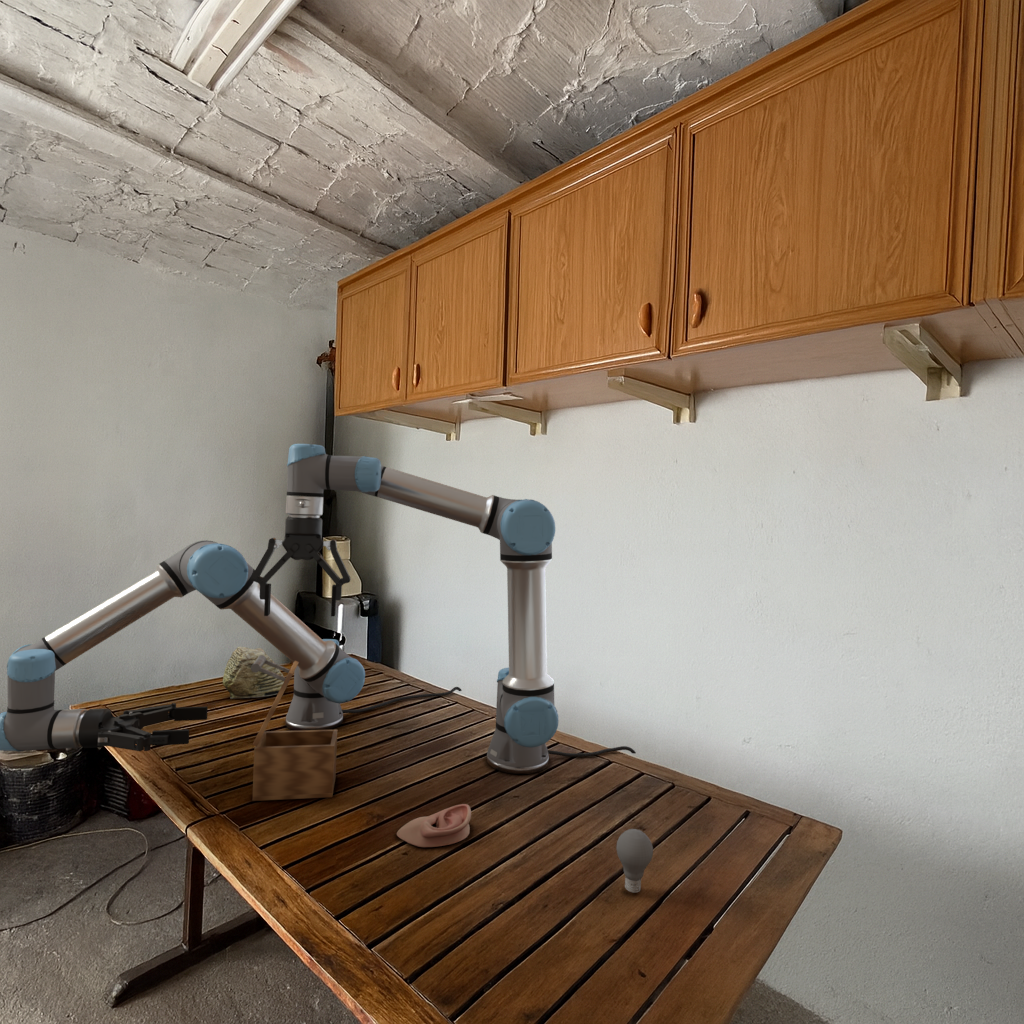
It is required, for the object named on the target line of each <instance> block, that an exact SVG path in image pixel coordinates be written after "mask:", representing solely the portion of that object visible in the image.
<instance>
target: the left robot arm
mask: <svg viewBox="0 0 1024 1024" xmlns="http://www.w3.org/2000/svg"><path fill="white" fill-rule="evenodd" d="M255 570H256V569H254V568H253V567H252V566H251V565H250V564H249V563H248V562H247V560H246V559H245V557H244V556H243V554H242V553H241V552H240V551H239V550H237V549H236V548H235V547H233V546H231V545H228V544H225V543H218V542H217V541H213V540H208V539H207V540H199V541H194V542H192V543H190V544H188V545H186V546H185V547H183V548H181V549H180V550H178V551H177V552H175V553H174V554H173V555H171V556H169V557H168V558H166V559H165V560H163V561H162V562H159V563H158V564H157V565H156V568H155V570H154V571H153V572H150V573H149V574H147V575H146V576H145V577H143V578H141V579H140V580H139V579H138V580H137V581H136V582H134V583H133V584H131V585H129V586H128V587H126V588H124V589H122V590H121V591H119V592H117V593H115V594H114V595H112V596H111V597H109V598H108V599H106V600H104V601H102V602H101V603H99V604H97V605H96V606H94V607H92V608H91V609H89V610H87V611H85V612H83V613H82V614H80V615H79V616H77V617H75V618H74V619H72V620H70V621H69V622H67V623H65V624H63V625H62V626H60V627H58V628H57V629H55V630H53V631H52V632H50V633H48V634H47V635H45V636H44V637H42V638H40V639H38V640H36V641H35V642H33V643H30V644H25V645H22V646H20V647H18V648H17V649H16V650H14V651H13V652H12V653H11V655H9V657H8V661H7V664H6V675H7V707H6V711H3V712H1V713H0V752H2V751H6V752H18V753H19V752H25V751H26V752H27V751H28V752H29V751H44V750H63V749H65V751H67V752H69V751H71V750H72V749H79V748H81V747H82V748H83V749H92V748H94V749H95V748H97V749H98V748H103V747H111V748H117V749H123V750H130V751H136V752H142V751H143V752H149V751H151V749H152V746H153V747H154V746H173V745H174V746H175V745H176V746H177V745H189V744H190V729H189V728H186V729H183V728H182V729H159V730H152V731H151V732H150V731H146V730H143V728H144V727H148V726H151V725H155V724H159V723H160V724H161V723H164V722H167V721H172V720H174V722H183V721H184V722H185V721H186V722H187V721H207V720H208V710H209V709H208V706H182V707H181V706H180V707H179V706H177V702H173V703H170V704H164V705H157V706H151V707H145V708H138V709H126V710H124V711H123V714H120V715H118V716H114V715H113V713H112V710H111V709H109V708H105V707H104V708H90V709H86V708H71V709H55V687H56V686H55V684H56V672H57V671H59V669H61V668H62V667H65V666H66V665H67V664H69V663H71V662H72V661H73V660H76V659H77V658H79V657H80V656H82V655H83V654H85V653H86V652H88V651H90V650H91V649H92V648H94V647H96V646H98V645H99V644H100V643H101V644H102V642H104V641H105V640H107V639H109V638H112V636H114V635H116V634H117V633H119V632H120V631H122V630H123V629H126V628H127V627H129V626H131V625H132V624H133V623H135V622H136V621H138V620H140V619H141V618H143V617H145V616H146V615H148V614H150V613H151V612H153V611H154V610H156V609H158V608H159V607H161V606H163V605H164V604H166V603H168V602H169V601H170V600H172V599H173V598H180V599H181V598H183V597H185V596H187V595H188V594H190V593H192V592H194V591H197V592H198V593H200V594H201V595H202V596H204V597H205V598H206V599H207V600H208V601H209V602H211V604H213V605H214V606H215V607H217V608H218V609H219V610H222V611H223V610H230V611H232V612H233V613H234V614H235V615H237V616H238V617H239V618H240V619H241V620H242V621H244V622H245V623H246V624H247V625H248V626H250V627H251V628H252V629H254V630H255V631H256V633H258V634H259V635H261V636H262V638H264V639H265V640H266V641H267V642H269V643H270V644H271V645H272V646H273V647H274V648H275V649H277V650H278V651H279V652H280V653H281V654H283V656H285V657H286V658H287V659H289V660H290V661H291V662H292V663H294V661H297V662H299V663H298V665H297V667H296V669H295V671H294V673H293V695H292V696H293V697H292V699H291V702H290V704H289V708H288V711H287V713H286V715H285V726H286V728H287V729H289V730H291V731H298V730H334V729H335V728H337V727H339V726H340V725H342V723H343V722H344V714H359V713H365V712H368V711H371V710H372V711H373V710H374V709H379V708H382V707H385V706H387V705H390V704H393V703H396V702H400V701H405V700H411V699H412V700H413V699H420V698H431V697H433V698H434V697H442V696H444V697H445V696H449V695H451V694H453V692H455V691H457V692H462V691H463V690H462V689H461V688H460V687H459V686H454V687H453V688H452V689H450V690H449V691H443V692H438V693H437V692H436V693H423V694H413V695H405V696H401V697H396V698H392V699H389V700H387V701H384V702H381V703H378V704H377V703H376V704H374V705H371V706H367V707H364V708H358V709H357V708H356V709H342V706H341V704H344V703H347V702H350V701H352V700H354V699H355V698H356V697H357V696H358V695H359V693H361V692H362V689H363V687H364V685H365V682H366V680H365V679H366V671H365V668H364V666H363V664H362V663H361V662H360V661H359V660H358V659H357V658H354V657H351V655H349V654H348V653H347V652H346V651H344V649H342V648H341V646H340V642H339V640H338V639H334V638H323V639H322V638H321V637H320V636H319V635H318V634H317V633H316V632H314V630H312V629H311V628H310V627H309V626H308V625H306V624H305V622H304V621H302V620H301V619H300V618H299V617H298V616H296V615H295V613H293V612H292V611H291V610H290V609H289V608H287V607H286V605H284V604H283V603H282V602H281V601H280V600H279V599H277V597H276V596H274V595H273V594H272V593H271V601H270V614H269V615H268V616H264V605H265V600H260V584H259V583H257V582H253V581H251V577H252V575H253V573H254V571H255Z"/></svg>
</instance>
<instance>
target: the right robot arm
mask: <svg viewBox="0 0 1024 1024" xmlns="http://www.w3.org/2000/svg"><path fill="white" fill-rule="evenodd" d="M325 490H327V491H333V490H334V491H346V492H358V493H362V494H365V495H368V496H371V497H376V498H379V499H383V500H386V501H389V502H393V503H396V504H398V505H402V506H405V507H409V508H413V509H416V510H420V511H423V512H425V513H429V514H431V515H435V516H439V517H442V518H444V519H445V518H446V519H449V520H452V521H455V522H458V523H461V524H464V525H467V526H468V525H469V526H472V527H475V528H477V529H478V530H479V532H480V533H481V534H484V535H487V536H490V537H493V538H495V539H497V540H498V541H499V561H500V562H501V564H503V565H504V566H505V567H506V577H507V580H506V582H507V584H506V585H507V586H506V587H507V629H508V631H507V635H508V636H507V637H508V638H507V639H508V643H507V644H508V667H503V668H501V669H499V670H498V673H497V679H496V685H497V687H496V707H495V708H496V709H495V728H494V729H495V730H494V732H493V735H492V738H491V740H490V743H489V746H488V748H487V752H486V762H487V765H489V766H490V767H491V768H493V769H494V770H496V771H499V772H502V773H507V774H513V775H529V774H535V773H538V772H541V771H543V770H545V769H546V768H547V767H548V766H549V759H550V755H552V756H553V755H554V756H561V757H566V758H586V757H595V756H599V755H603V754H607V753H613V752H619V751H628V752H630V753H631V754H633V755H634V754H637V752H636V751H635V749H633V748H631V747H630V746H626V745H622V746H616V747H610V748H603V749H601V750H600V749H599V750H597V751H590V752H579V753H578V752H576V753H575V752H574V753H573V752H562V751H559V750H550V749H548V746H547V743H548V742H549V741H551V740H552V738H553V737H554V736H555V734H556V733H557V730H558V727H559V714H558V709H557V707H556V706H555V680H554V678H552V677H551V675H549V674H548V646H547V645H548V644H547V643H548V642H547V640H548V639H547V635H548V634H547V585H546V584H547V583H546V582H547V580H546V579H547V578H546V574H547V573H546V568H547V566H548V565H549V564H550V563H551V562H552V561H553V541H554V538H555V536H556V521H555V518H554V516H553V514H552V512H551V511H550V510H549V509H548V507H547V506H546V505H544V504H543V503H542V502H540V501H538V500H535V499H528V498H524V499H516V498H515V499H513V498H512V499H511V498H506V497H502V496H497V495H494V494H491V495H490V496H488V497H486V496H483V495H480V494H476V493H473V492H469V491H466V490H465V489H464V490H463V489H461V488H457V487H453V486H450V485H447V484H443V483H441V482H437V481H433V480H430V479H427V478H424V477H421V476H418V475H414V474H411V473H407V472H404V471H401V470H398V469H395V468H391V467H388V466H384V465H382V462H381V459H379V458H378V457H372V456H367V455H362V456H357V455H356V456H355V455H333V454H327V453H326V448H325V446H323V445H320V444H313V443H312V444H311V443H293V444H292V445H290V446H289V448H288V457H287V463H286V499H285V500H286V501H285V514H286V515H288V516H286V518H285V525H284V526H285V528H284V538H283V539H281V538H276V537H271V538H269V539H268V542H267V543H268V544H267V549H266V550H265V552H264V554H263V556H262V557H261V559H260V561H259V563H258V564H257V566H256V567H255V569H254V570H255V571H254V573H253V575H252V577H251V581H253V582H257V583H259V584H260V600H265V605H264V616H268V615H269V614H270V601H271V594H272V583H268V582H269V581H270V580H271V579H272V578H273V577H274V576H275V574H277V572H278V571H279V570H280V569H281V568H282V567H283V566H284V565H285V564H286V563H287V562H288V561H289V560H290V559H293V560H294V561H300V560H304V561H312V560H313V559H314V561H315V562H317V563H318V565H319V566H320V568H321V569H323V571H324V572H325V573H326V574H327V576H328V577H329V578H330V579H331V580H332V582H333V584H332V586H331V602H330V603H331V606H330V609H331V610H330V617H335V616H336V613H337V601H341V599H342V591H343V585H346V584H348V583H350V582H351V576H350V574H349V571H348V570H347V567H346V565H345V563H344V561H343V558H342V556H341V554H340V552H339V550H338V544H337V542H338V541H337V540H336V539H330V540H324V539H323V519H322V518H321V516H323V513H324V491H325ZM280 546H282V547H283V549H284V550H285V551H286V552H285V554H284V555H283V556H282V557H281V558H280V559H279V560H277V562H276V563H275V564H274V565H273V566H272V567H271V568H270V569H269V570H268V571H267V572H266V574H265V575H264V576H261V575H262V573H263V571H264V570H265V568H266V566H267V565H268V563H269V561H270V559H271V557H272V556H273V554H274V552H275V550H277V549H279V547H280ZM323 547H325V548H326V550H327V551H330V553H331V556H332V558H333V560H334V562H335V564H336V567H337V569H338V570H339V572H340V574H341V578H340V576H339V575H338V574H337V572H336V571H335V569H333V567H332V566H331V565H330V564H329V563H328V561H327V560H326V559H325V557H324V556H323V555H322V554H321V552H320V551H322V550H323Z"/></svg>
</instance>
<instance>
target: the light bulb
mask: <svg viewBox="0 0 1024 1024" xmlns="http://www.w3.org/2000/svg"><path fill="white" fill-rule="evenodd" d="M615 849H616V854H617V857H618V859H619V861H620V863H621V865H622V867H623V873H624V874H623V875H624V876H625V878H624V888H625V890H627V891H628V892H630V893H634V894H635V893H639V892H640V891H641V889H642V887H641V886H642V879H643V877H644V875H645V871H646V868H647V867H648V866H649V864H650V863H651V861H652V859H653V855H654V847H653V843H652V841H651V838H649V836H648V835H647V834H646V833H645V832H643V831H642V830H641V829H636V828H629V829H627V830H625V831H623V832H622V833H621V834H620V835H619V837H618V839H617V841H616V847H615Z"/></svg>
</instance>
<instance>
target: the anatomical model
mask: <svg viewBox="0 0 1024 1024" xmlns="http://www.w3.org/2000/svg"><path fill="white" fill-rule="evenodd" d="M471 819H472V809H471V806H470V805H469V804H468V803H462V804H461V803H460V804H456V805H452V806H450V807H447V808H445V809H442V810H439V811H437V812H436V813H433V814H431V815H428V816H426V815H425V816H420V817H417V818H414V819H412V820H410V821H408V822H407V823H405V824H404V825H402V826H401V827H400V828H399V829H398V830H397V832H396V836H397V837H398V838H399V839H401V840H402V841H403V842H406V843H408V844H409V845H413V846H415V847H419V848H435V847H442V846H443V847H444V846H448V845H449V846H450V845H453V844H456V843H458V842H461V841H463V840H465V839H466V838H468V836H469V835H470V832H471V831H470V830H471V829H470V828H471V827H470V824H469V823H470V821H471Z"/></svg>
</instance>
